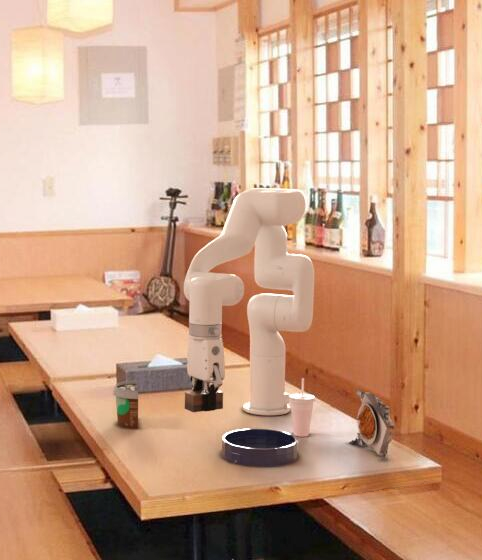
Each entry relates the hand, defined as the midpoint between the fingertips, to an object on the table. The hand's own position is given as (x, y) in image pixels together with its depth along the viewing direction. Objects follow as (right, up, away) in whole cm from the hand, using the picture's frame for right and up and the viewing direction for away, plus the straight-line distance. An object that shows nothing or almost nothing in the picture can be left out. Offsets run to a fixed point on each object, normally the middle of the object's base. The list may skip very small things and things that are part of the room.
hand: (204, 407), depth 244 cm
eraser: (0, 0, 0) cm, 0 cm away
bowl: (+13, -11, -3) cm, 17 cm away
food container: (-20, -7, +23) cm, 31 cm away
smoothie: (+24, -9, +15) cm, 30 cm away
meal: (+39, -11, +1) cm, 40 cm away
